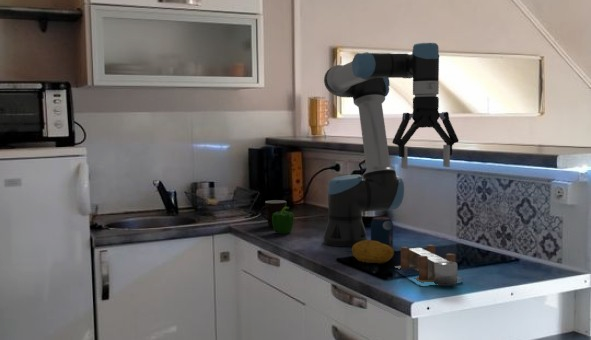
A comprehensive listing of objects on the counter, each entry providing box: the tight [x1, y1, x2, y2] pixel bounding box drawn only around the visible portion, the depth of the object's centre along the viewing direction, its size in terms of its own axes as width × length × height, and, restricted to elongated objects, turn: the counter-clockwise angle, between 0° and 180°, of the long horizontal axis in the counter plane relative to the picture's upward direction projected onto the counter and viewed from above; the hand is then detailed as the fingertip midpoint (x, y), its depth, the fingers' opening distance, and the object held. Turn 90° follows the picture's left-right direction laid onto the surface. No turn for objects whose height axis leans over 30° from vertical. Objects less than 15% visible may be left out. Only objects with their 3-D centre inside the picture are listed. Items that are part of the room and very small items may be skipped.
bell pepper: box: [272, 206, 295, 235], centre depth 244 cm, size 8×8×10 cm
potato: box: [351, 239, 395, 264], centre depth 194 cm, size 8×14×7 cm, turn 43°
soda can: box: [370, 215, 394, 250], centre depth 205 cm, size 7×7×12 cm
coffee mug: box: [260, 199, 287, 229], centre depth 259 cm, size 12×9×10 cm
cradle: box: [394, 244, 463, 283], centre depth 177 cm, size 18×12×7 cm, turn 14°
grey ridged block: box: [409, 247, 458, 286], centre depth 175 cm, size 22×6×5 cm, turn 14°
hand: (425, 167), depth 192 cm, fingers open, 13 cm apart
